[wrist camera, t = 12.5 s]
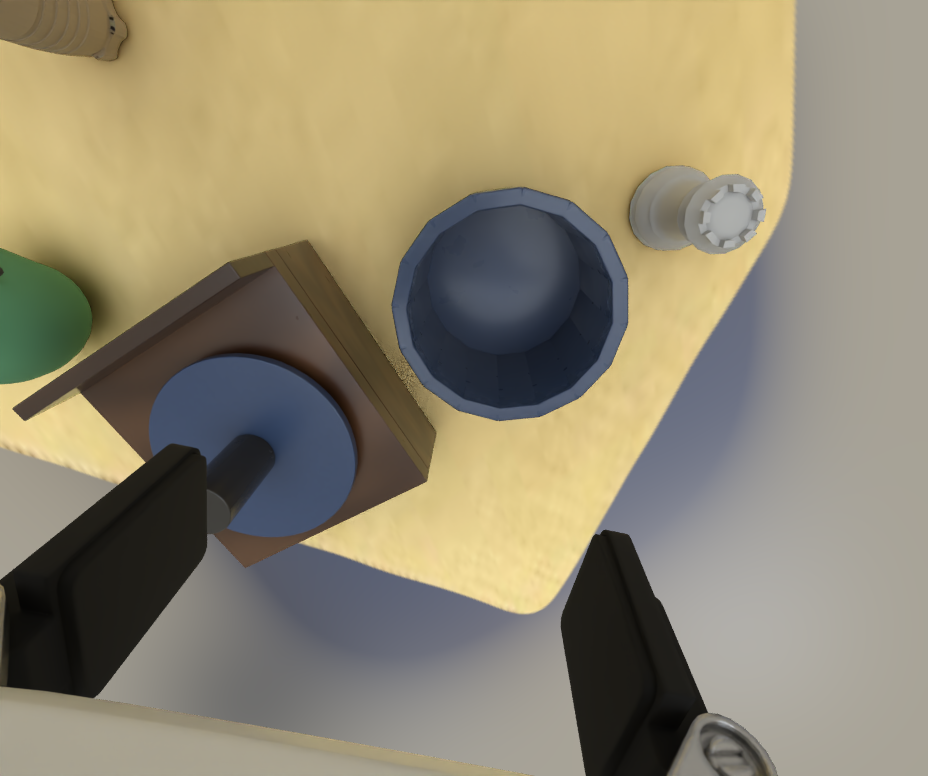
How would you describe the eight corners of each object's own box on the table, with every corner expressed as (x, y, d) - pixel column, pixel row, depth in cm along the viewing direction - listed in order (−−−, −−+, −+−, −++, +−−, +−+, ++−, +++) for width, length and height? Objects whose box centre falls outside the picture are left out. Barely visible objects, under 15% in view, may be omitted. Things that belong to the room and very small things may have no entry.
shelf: (141, 348, 32) (11, 408, 23) (307, 239, 29) (228, 261, 20) (281, 510, 36) (217, 612, 28) (436, 433, 33) (419, 520, 25)
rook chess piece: (685, 147, 26) (764, 131, 18) (721, 218, 27) (808, 229, 20) (612, 199, 27) (659, 203, 20) (649, 264, 28) (707, 291, 21)
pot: (385, 248, 29) (347, 271, 21) (541, 151, 26) (564, 135, 18) (471, 388, 32) (466, 453, 24) (616, 312, 29) (664, 357, 22)
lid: (119, 408, 27) (20, 468, 21) (276, 310, 24) (211, 348, 18) (250, 550, 30) (195, 634, 25) (398, 478, 28) (376, 552, 22)
